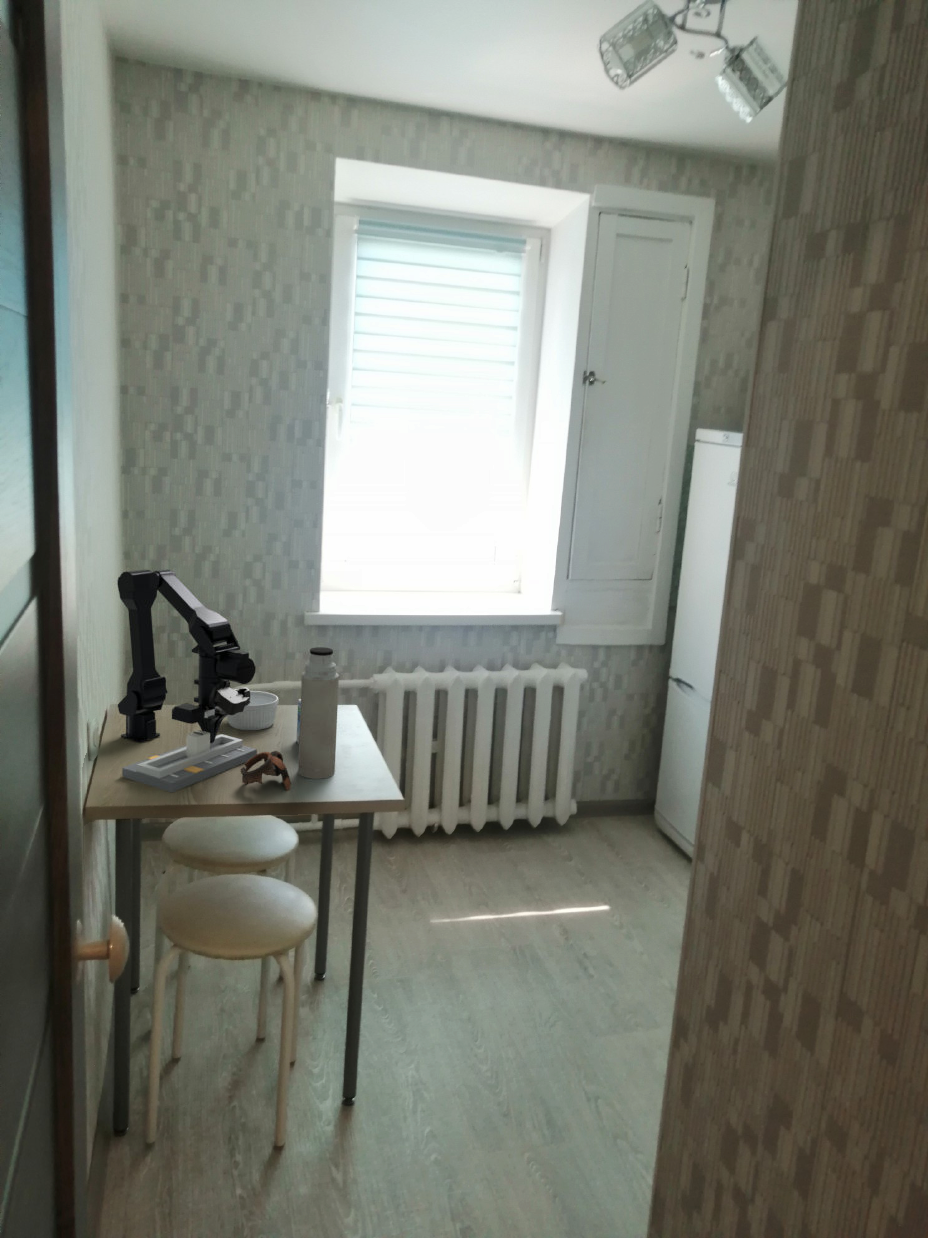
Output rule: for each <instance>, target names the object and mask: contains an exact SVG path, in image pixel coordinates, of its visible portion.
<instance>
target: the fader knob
mask: <svg viewBox="0 0 928 1238" xmlns="http://www.w3.org/2000/svg"><path fill="white" fill-rule="evenodd" d="M186 745H187V747H186V757H192V756H194V755H197V754H200V753H202V752H205V751H208V750H210V733H208V732H205V731H202V730H200V729H199V730H196V731H193V732H190V733H187V734H186Z"/></svg>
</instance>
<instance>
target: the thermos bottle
mask: <svg viewBox="0 0 928 1238" xmlns="http://www.w3.org/2000/svg"><path fill="white" fill-rule="evenodd" d="M309 653H310V655H309V661H307V662H306V663H305V664H304V671H303V672H302V673H301V684H300V685H301V686H300V688H301V689H300V690H301V694H300V699H301V706H300V734H299V743H298V763H297V764H298V766H297V769H298V770H297V772H298V774H299V775H300V776H301V777H304V778H307V779H315V780H316V779H326V778H329V777H332V776H334V774H335V772H336V754H337V753H336V749H337V732H338V731H337V729H338V728H337V726H338V708H339V707H338V706H339V704H338V703H339V683H340V681H339V680H340V674H339V673H337V669H338V667H337V664H336V663H335V662H333V654H334V649H332V648H329V647H325V646H324V647H323V646H322V647H321V646H319V647H318V646H317V647H311V648H310V649H309Z"/></svg>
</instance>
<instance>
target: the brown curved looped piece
mask: <svg viewBox="0 0 928 1238" xmlns="http://www.w3.org/2000/svg"><path fill="white" fill-rule="evenodd" d="M261 761H264V762H263V764H261V765H260V766H259V767H257V768H255V769H252V770H250V769H251V768H252V767H253V766H254V765H256V764H257V763H259V762H261ZM243 764H244V766H242V768H240V774H241V775H242V779H241V782H242V784H244V785H249V784H254V783H259V784H263V775H265V776H271V777H279V776H281V780H282V784H283V786H284V787H285V791H286V792H287V791H289V790H290V788H291V785H292V781H291V778H290V774H289V771H288V769H287V767H286V764H285V763H284V758H283V755H282V753H281V752H280V751H278V750H273V751H271V752H269V751H262V752H258V753H257V755H255V756H253V757H252V758H251V759H249V760H248V761H247V762H245V763H243ZM249 770H250V771H249Z"/></svg>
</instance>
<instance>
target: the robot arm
mask: <svg viewBox="0 0 928 1238" xmlns="http://www.w3.org/2000/svg"><path fill="white" fill-rule="evenodd" d="M117 589H118V593H119V599H120V600H121V602H122V603H123V604H124V606H125V607H126V609H127V612H128V621H129V622H128V623H129V635H130V636H129V637H130V638H129V639H130V650H131V660H132V673H131V675H130V677H129V679H128V681H127V684H126V694H125V696H123V699H121V700H120V702H119V703H118V704H117V708H118V712H119V714H120V715H123V716H125V733H122V734H120V738H123V739H127V740H130V741H133V742H136V743H142V742H145V741H146V742H147V741H150V740H152V739H155V738H158V737H160V736H161V733H160V732H157V719H156V711H161V710H162V708H163V705H164V702H165V701H166V698H167V694H168V689H167V678H166V677H165V676H161V674H160V673H159V672H158V671H157V668H156V667H157V666H156V657H155V646H154V645H155V644H154V643H155V642H154V640H155V639H154V631H153V617H152V615H153V614H152V607H153V605H154V604H155V601H156V599H157V596H158V592H159V593H160V594H161V596H163V598H164V599H165V600H166V601H167V602H168V603H169V604H170V605H171V606H172V607H173V608H174V609H175V610H176V612H177V613H179V615H180V616H181V617H182V619H184V620H185V622H186V623H187V625H188V626H187V627H188V632H189V634H190V635H191V637H192V638H193V640H194V641H195V643H196V644H197V645H196V646H194V647H193V648H192V649H191V651H190V652H191V653H193V654H198V667H197V668H198V676H197V677H198V678H195V679H193V683H194V685H197V686H198V687H197V688H198V689H197V696H194V697H193V703H197V705H195V704H191V703H189V702H185V703H182V704H179V705H175V706H174V707H173V708H172V709H171V720H174V721H178V722H181V723H182V722H183V723H185V724H191V725H192V724H196V723H197V724H198V726H199V727H200V729H201V731H205V732H208V733H210V743H214V740H215V738H216V736H218V735H217V734H218V732H219V729H220V727H221V725H222V722H223V721H224V719H225V718H227V715H235V714H236V713H239V712H243V710H244V707H245V706H247V705H248V704H249V703H250V691H251V690H250V689H249V688H248V687H246V686H244V687H241V688H239V689H237V688H235V689H233V688H231V687H232V686H231V682H233V683H237V684H241V685H247V684H249V683H250V682H251V681H252V680H253V679H254V678H255V677H254V676H255V675H256V669H257V668H256V665H255V662H254V660H253V659H252V658H250V653H249V652H248V651H242V650H241V646H240V644H239V641H238V640H237V638H236V636H235V633H234V631H233V630H232V627H231V624H230V622H229V621H228V620H227V619H226V618H225V617H224V616H222V615H221V614H219V613H218V612H216V611H213V610H211V609H208V608H207V607H206V606H204V605H203V604H202V603H201V602H200V601H199V599H197V597H196V596H195V594H194V595H193V593H192V592H191V591H190V590H189V589H188V588H187V587H186V586H185V585H184V584H183V583H182V581H180V580H179V579H178V577H177V576H176V573H175V572H174V571H173V570H170V569H160V570H154V571H153V570H150V569H138V570H128V571H123V572H122V573H121V574H120V575H119V576H118V578H117ZM240 650H241V651H240Z"/></svg>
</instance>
